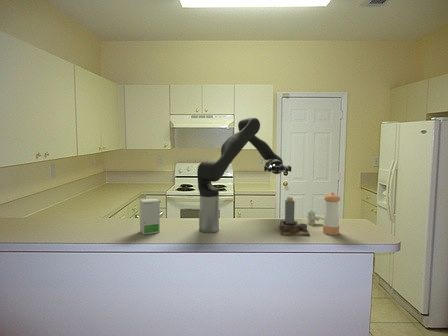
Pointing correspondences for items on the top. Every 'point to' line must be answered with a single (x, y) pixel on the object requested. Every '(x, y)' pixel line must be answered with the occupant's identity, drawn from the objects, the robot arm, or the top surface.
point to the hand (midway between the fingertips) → (278, 170)
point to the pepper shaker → (331, 215)
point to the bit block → (293, 229)
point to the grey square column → (289, 211)
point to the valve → (313, 217)
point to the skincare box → (149, 216)
